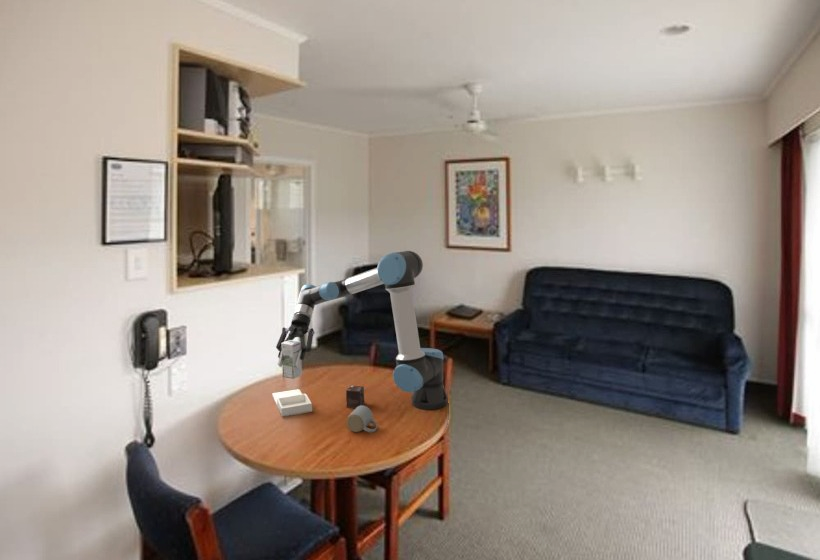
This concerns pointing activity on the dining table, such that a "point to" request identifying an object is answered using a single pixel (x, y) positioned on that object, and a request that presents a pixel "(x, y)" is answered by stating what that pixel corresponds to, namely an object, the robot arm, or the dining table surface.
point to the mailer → (292, 402)
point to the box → (355, 396)
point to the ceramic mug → (361, 420)
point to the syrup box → (291, 359)
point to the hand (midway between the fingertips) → (288, 365)
